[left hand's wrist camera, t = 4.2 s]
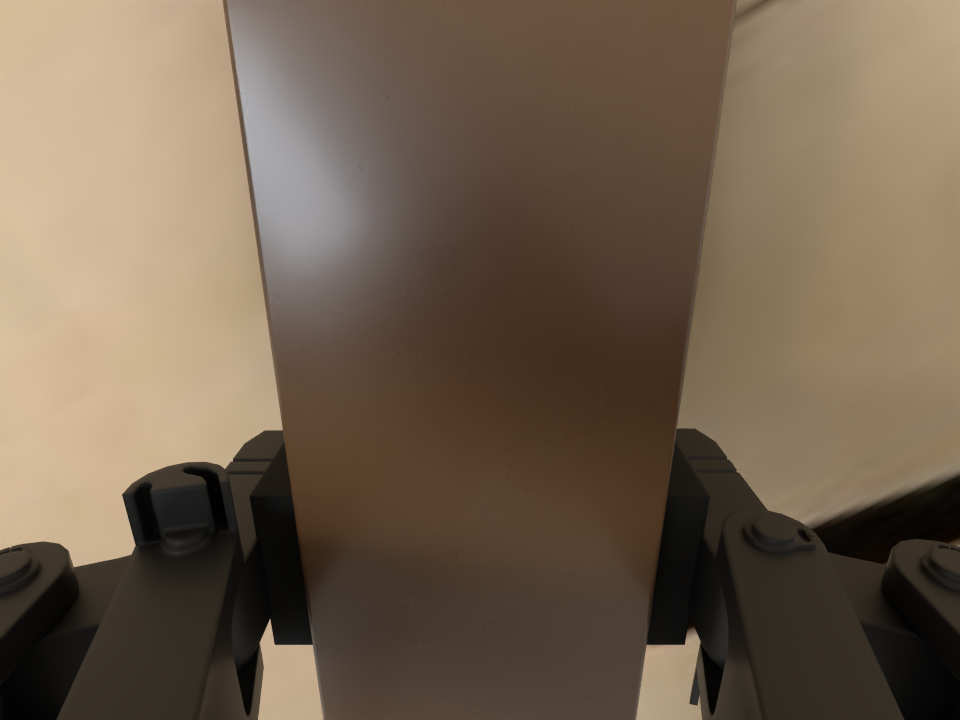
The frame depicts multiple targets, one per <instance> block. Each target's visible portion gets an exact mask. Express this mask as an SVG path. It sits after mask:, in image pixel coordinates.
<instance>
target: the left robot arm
mask: <svg viewBox="0 0 960 720" xmlns="http://www.w3.org/2000/svg"><path fill="white" fill-rule="evenodd" d="M122 496H123V499H124V503H125V507H126V511H127V514H128V518H129V522H130V526H131V529H132V533H133V537H134V541H135V544H136V546H135V548H134V551H133V553H132V555H129V556H125V557H122V558H118V559H113V560H108V561H103V562H98V563H93V564H88V565H84V566H79V567H73V564H72V561H71V557H70V554H69V551H68V550H67V549H65V548H64V547H63V546H62V545H60V544H57V543H50V542H36V543H28V544H21V545H16V546H12V547H11V548H6V549H3V550H0V720H258V713H259V704H260V695H261V687H262V678H263V669H264V666H263V659H262V653H261V647H260V641H261V638H262V636H263V634H264V631H265V629H266V627H267V624H268V622H269V620H270V619H271V625H272V631H273V637H274V642H275V645H313V641H312V634H311V627H310V620H309V613H308V606H307V599H306V591H305V584H304V577H303V570H302V563H301V556H300V549H299V541H298V534H297V527H296V520H295V513H294V506H293V499H292V491H291V484H290V477H289V470H288V463H287V456H286V449H285V441H284V434H283V431H264V432H262V433H260V434H259V435H257V436H256V437H254V438H253V439H251V440H249V441H248V442H246V443H245V444H244V445H243V446H242V448H241V449H240V450H239V452H238V453H237V454H236V456H235V457H234V458H233V462H230V464H229V465H228V466H227V468H226V469H224V468H223V467H221V466H220V465H217V464H212V463H208V462H187V463H182V464H177V465H172V466H167V467H165V468H162V469H159V470H157V471H154V472H152V473H149V474H147V475H145V476H144V477H142V478H140V479H139V480H137V481H136V482H134V483H132V484H131V485H130V487H129V488H128V489H127V490H126V491H125V492H124V493H123V494H122ZM689 617H690V618H691V620H692V622H693V625H694V627H695V629H696V631H697V634H698V636H699V638H700V641H701V642H700V647H699V653H698V658H697V664H696V669H695V675H694V680H693V685H692V691H691V697H690V704H693V705H698V699H699V694H700V703H701V712H702V720H960V547H957V546H954V545H949V544H947V543H943V542H938V541H930V540H921V539H913V540H906V541H900V542H899V543H898V544H897V545H895V546H894V547H893V548H892V550H891V553H890V556H889V559H888V562H887V565H884V564H879V563H874V562H869V561H865V560H860V559H855V558H850V557H845V556H840V555H837V554H833V553H829V552H827V550H826V547H825V545H824V544H823V542H822V541H821V540H820V538H819V537H818V536H817V535H816V533H815V532H813V531H812V530H811V529H809V528H808V527H806V526H805V525H804V524H802V523H801V522H799V521H797V520H794V519H792V518H790V517H788V516H785V515H783V514H780V513H776V512H771V511H768V510H767V509H766V508H765V506H764V505H763V504H762V502H761V501H760V500H759V498H758V497H757V496H756V494H755V493H754V492H753V490H752V489H751V488H750V487H749V485H748V484H747V483H746V481H745V480H744V479H743V477H742V476H741V475H740V473H737V472H736V468H735V467H734V466H733V464H732V463H731V462H730V460H727V456H726V455H725V454H724V452H723V451H722V450H721V448H720V447H719V446H718V445H717V443H716V442H715V441H713V440H712V439H710V438H709V437H707V436H706V435H704V434H702V433H701V432H699V431H698V430H696V429H677V430H676V437H675V444H674V451H673V458H672V466H671V473H670V480H669V487H668V494H667V501H666V508H665V516H664V523H663V530H662V537H661V544H660V551H659V558H658V565H657V573H656V580H655V587H654V594H653V601H652V608H651V615H650V623H649V630H648V637H647V644H646V645H685V640H686V634H687V629H688V623H689Z"/></svg>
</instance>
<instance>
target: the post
mask: <svg viewBox="0 0 960 720" xmlns="http://www.w3.org/2000/svg"><path fill="white" fill-rule="evenodd" d="M736 2H737V0H223V6H224V13H225V20H226V28H227V35H228V42H229V49H230V56H231V63H232V70H233V77H234V85H235V92H236V99H237V106H238V113H239V120H240V127H241V135H242V142H243V149H244V156H245V163H246V170H247V177H248V185H249V192H250V199H251V206H252V213H253V220H254V227H255V235H256V242H257V249H258V256H259V263H260V270H261V277H262V284H263V292H264V299H265V306H266V313H267V320H268V327H269V334H270V342H271V349H272V356H273V363H274V370H275V377H276V384H277V392H278V399H279V406H280V413H281V420H282V427H283V434H284V441H285V449H286V456H287V463H288V470H289V477H290V484H291V491H292V499H293V506H294V513H295V520H296V527H297V534H298V541H299V549H300V556H301V563H302V570H303V577H304V584H305V591H306V599H307V606H308V613H309V620H310V627H311V634H312V641H313V648H314V656H315V663H316V670H317V677H318V684H319V691H320V698H321V706H322V713H323V720H636V715H637V708H638V701H639V694H640V687H641V680H642V672H643V665H644V658H645V651H646V644H647V637H648V630H649V623H650V615H651V608H652V601H653V594H654V587H655V580H656V573H657V565H658V558H659V551H660V544H661V537H662V530H663V523H664V516H665V508H666V501H667V494H668V487H669V480H670V473H671V466H672V458H673V451H674V444H675V437H676V430H677V423H678V416H679V408H680V401H681V394H682V387H683V380H684V373H685V366H686V359H687V351H688V344H689V337H690V330H691V323H692V316H693V309H694V301H695V294H696V287H697V280H698V273H699V266H700V259H701V252H702V244H703V237H704V230H705V223H706V216H707V209H708V202H709V194H710V187H711V180H712V173H713V166H714V159H715V152H716V145H717V137H718V130H719V123H720V116H721V109H722V102H723V95H724V87H725V80H726V73H727V66H728V59H729V52H730V45H731V38H732V30H733V23H734V16H735V9H736Z"/></svg>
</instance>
